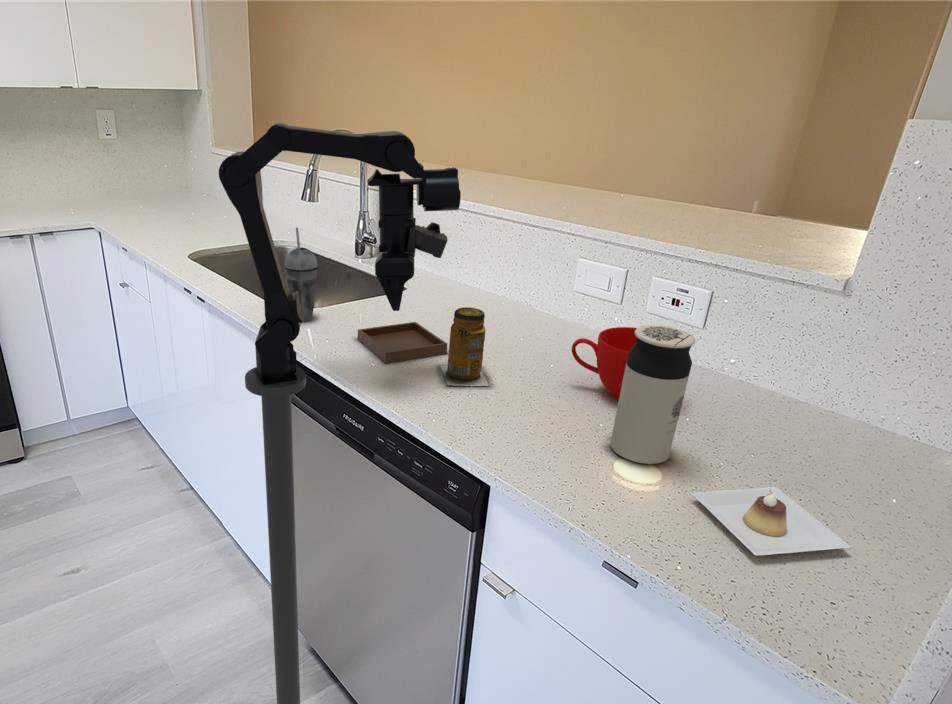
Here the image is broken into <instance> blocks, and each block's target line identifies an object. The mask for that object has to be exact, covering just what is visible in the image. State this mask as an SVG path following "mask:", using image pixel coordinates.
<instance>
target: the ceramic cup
mask: <svg viewBox="0 0 952 704" xmlns="http://www.w3.org/2000/svg"><path fill="white" fill-rule="evenodd" d="M637 328H638V327H634V326H633V327H632V326H617V327H611V328H610V327H609V328H605V329H603V330H602V331H600V332H599V334H598V338H597V342H596V343H595V342H594V341H593V340H591V339H588V338H584V337H581V338H578V339H576V340H574V341H573V343H572V345H571V355H572V357H573V358H574V360H575V361H576V363H577V364H579V365H580V366H581V367H583V368H585V369H587V370H588V371H590V372H593V373H595V374H597V375H598V376H599V379H600V381H601V383H602V385H603V387H604V388H605V389H606V391H607V392H608V394H609V396H611V397H612V398H613V399H615V400H617V401H619V397H620V392H621V387H622V382H623V377H624V372H625V368H626V363H627V358H628V353H629V350H630V349H631V348H632V347H633V346H634V345H635V344H636V335H635V330H636V329H637ZM579 344H586V345H587V346H590V347H591V348H592V349H593V351H594V355H595V357H596V366H593V365H592V364H589V363H588V362H586V361H584V360H583V359H581V357H580V356H579V354H578V353H577V346H578V345H579Z"/></svg>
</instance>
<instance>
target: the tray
mask: <svg viewBox="0 0 952 704" xmlns="http://www.w3.org/2000/svg"><path fill="white" fill-rule="evenodd" d="M357 340H358V341H359V342H361V343H362V344H363V345H364V346H365V347H366V349H368V350H369V351H370V352H372V353H373V354H374V355H375V356H377V357H378V358H379V359H380V360H381V362H383V363H384V364H389V363H390V364H391V363H397V362H403V361H409V360H414V359H420V358H427V357H433V356H439V355H446V354H448V343H447V342H446V341H445V340H443V339H442V338H440V337H438V336H437V335H436V334H434V333H433V332H431V331H430V330H428V329H427V328H425V327H424V326H423V325H421V324H419V323H418V322H417V321H410V322H404V323H397V324H396V323H395V324H388V325H381V326H374V327H373V326H372V327H368V328H361V329H357Z"/></svg>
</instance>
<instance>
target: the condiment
mask: <svg viewBox="0 0 952 704" xmlns="http://www.w3.org/2000/svg"><path fill="white" fill-rule="evenodd" d="M485 318H486V314H485V312H484V311H483V310H482V309H479V308H476V307H467V306H466V307H459V308H456V309H455V310H454V313H453V319H452V320H453V323H452V324H451V325H450V332H449V344H448V355H447V356H448V357H447V365H440V369H441V372H442V374H443V375H442V376H443V377H444V381H445V383H446V385H447V386H453V387H471V388H473V387H489V382H488V380H487V379H486V377H485V375H484V373H483V371H482V368H483V363H484V362H483V361H484V350H485V349H484V347H485V340H486V339H485V338H486V327H485Z"/></svg>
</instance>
